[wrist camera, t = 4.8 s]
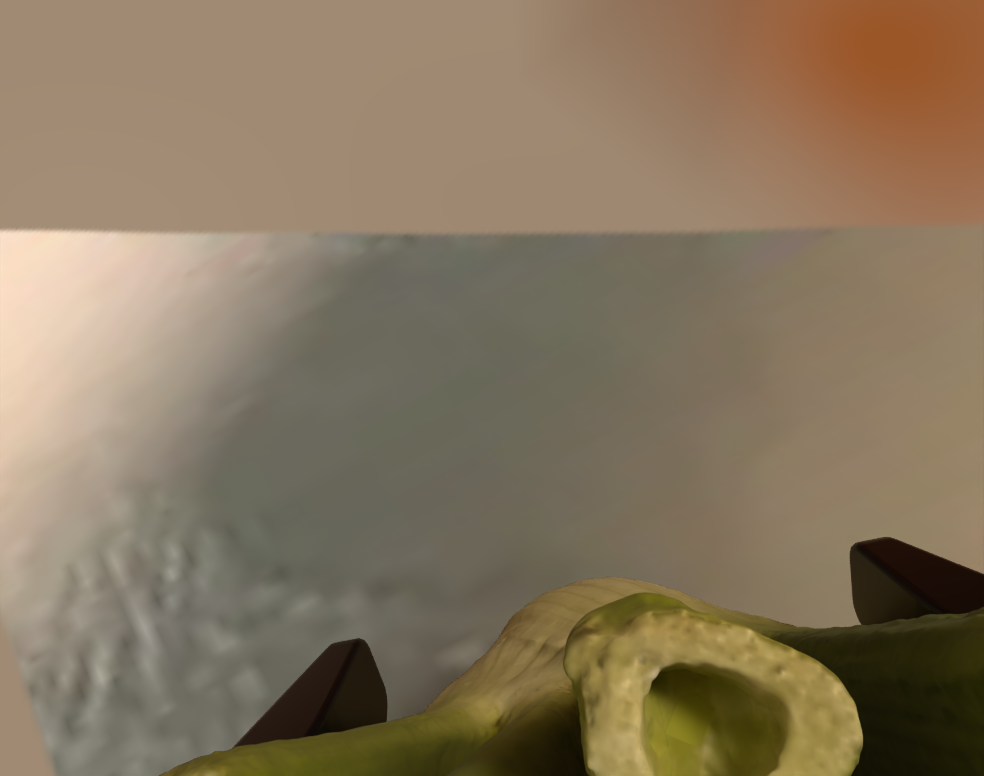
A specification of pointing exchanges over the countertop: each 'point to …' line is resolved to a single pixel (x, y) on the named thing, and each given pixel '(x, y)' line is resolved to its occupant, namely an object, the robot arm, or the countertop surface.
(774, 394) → the countertop surface
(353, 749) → the fennel bulb
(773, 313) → the countertop surface
